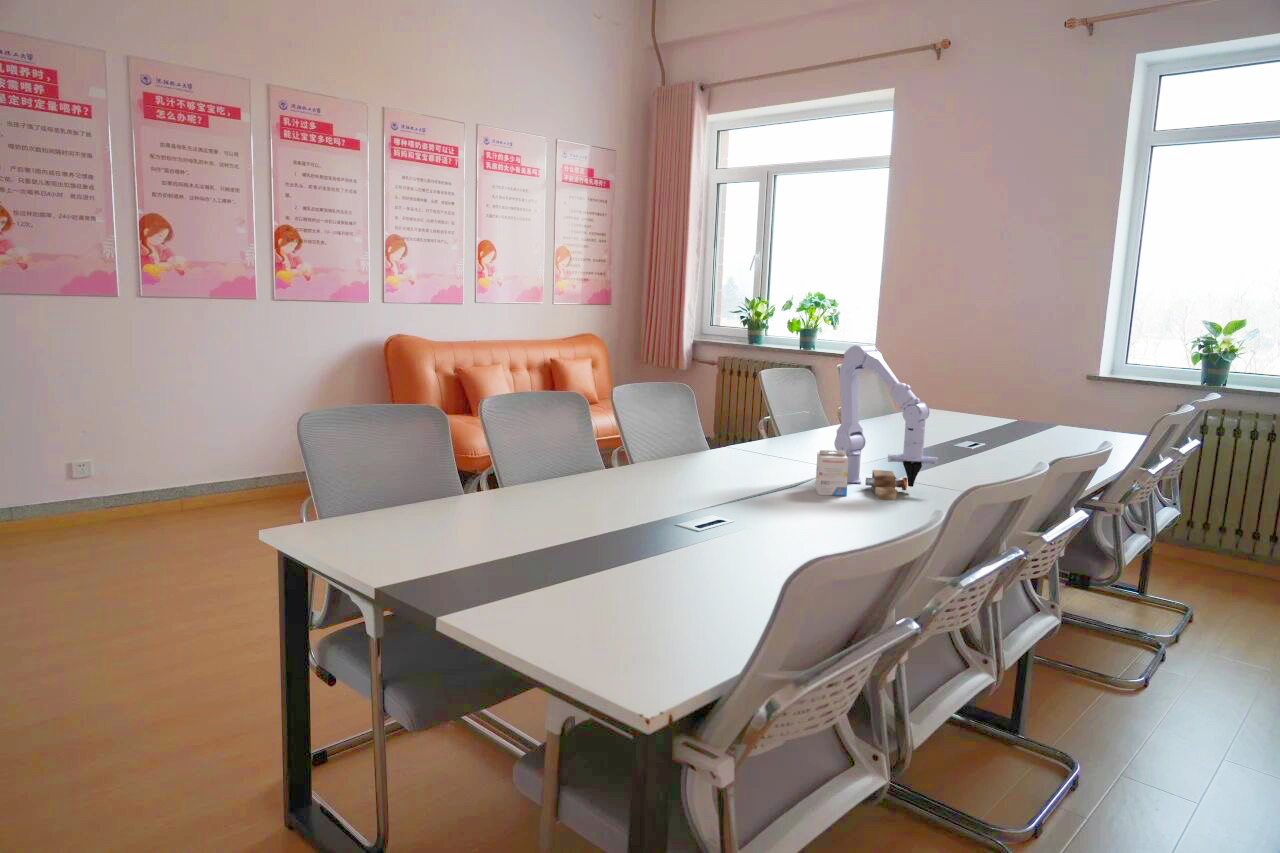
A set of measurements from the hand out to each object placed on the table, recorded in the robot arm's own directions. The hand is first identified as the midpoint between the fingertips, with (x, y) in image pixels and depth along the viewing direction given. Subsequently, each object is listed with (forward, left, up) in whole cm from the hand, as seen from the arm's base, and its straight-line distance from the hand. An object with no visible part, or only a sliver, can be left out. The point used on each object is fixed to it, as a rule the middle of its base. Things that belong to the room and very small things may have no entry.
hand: (910, 485), depth 262 cm
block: (-8, -9, -2) cm, 12 cm away
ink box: (-24, -7, -2) cm, 25 cm away
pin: (-7, 0, -2) cm, 8 cm away
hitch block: (-8, 0, -2) cm, 8 cm away
